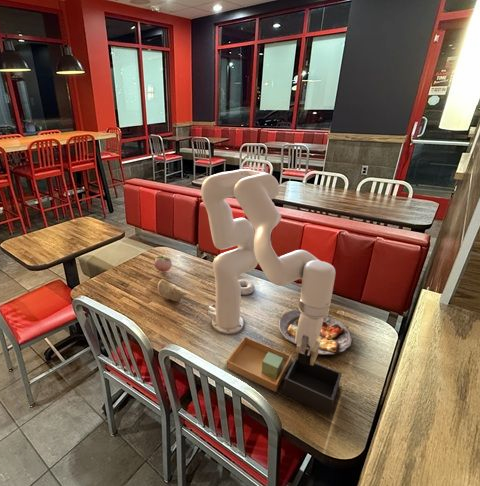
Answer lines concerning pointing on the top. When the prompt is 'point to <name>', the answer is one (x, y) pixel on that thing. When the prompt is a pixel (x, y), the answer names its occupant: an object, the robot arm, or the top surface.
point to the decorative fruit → (162, 263)
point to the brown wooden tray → (256, 362)
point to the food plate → (330, 337)
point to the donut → (246, 287)
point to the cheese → (170, 290)
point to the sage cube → (272, 365)
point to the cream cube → (313, 352)
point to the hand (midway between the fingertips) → (306, 356)
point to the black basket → (312, 385)
